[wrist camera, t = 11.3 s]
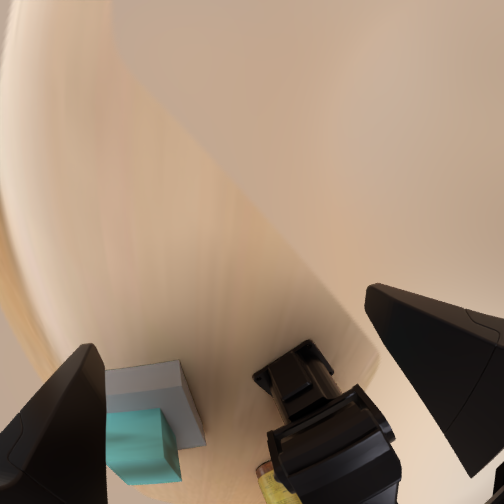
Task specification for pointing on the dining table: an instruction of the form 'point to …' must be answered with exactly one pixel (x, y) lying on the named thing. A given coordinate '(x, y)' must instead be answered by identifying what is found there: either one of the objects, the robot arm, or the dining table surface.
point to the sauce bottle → (274, 487)
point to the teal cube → (142, 447)
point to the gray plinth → (157, 398)
